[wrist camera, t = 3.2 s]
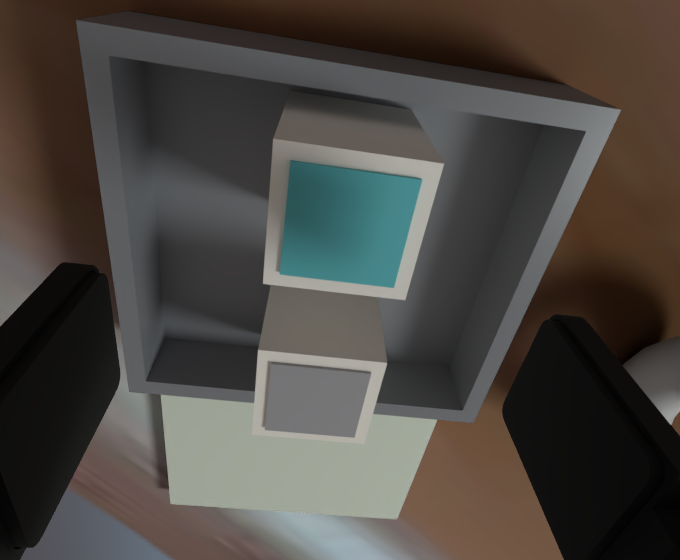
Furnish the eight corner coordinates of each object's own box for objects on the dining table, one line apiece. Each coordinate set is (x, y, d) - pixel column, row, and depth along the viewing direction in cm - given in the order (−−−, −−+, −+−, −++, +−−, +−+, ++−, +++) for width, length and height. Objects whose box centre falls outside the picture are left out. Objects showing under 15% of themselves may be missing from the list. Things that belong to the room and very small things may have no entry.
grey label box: (275, 260, 21) (257, 352, 16) (374, 272, 21) (387, 365, 16) (268, 336, 23) (251, 437, 18) (357, 346, 24) (364, 446, 19)
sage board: (163, 355, 25) (158, 368, 25) (443, 382, 27) (446, 395, 26) (174, 490, 32) (170, 503, 32) (395, 506, 34) (396, 519, 33)
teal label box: (290, 90, 17) (272, 140, 12) (411, 109, 17) (445, 164, 12) (280, 204, 19) (262, 285, 14) (386, 218, 20) (405, 302, 15)
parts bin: (128, 11, 16) (75, 19, 13) (567, 84, 18) (620, 109, 15) (156, 335, 25) (129, 391, 21) (455, 366, 26) (473, 422, 23)
